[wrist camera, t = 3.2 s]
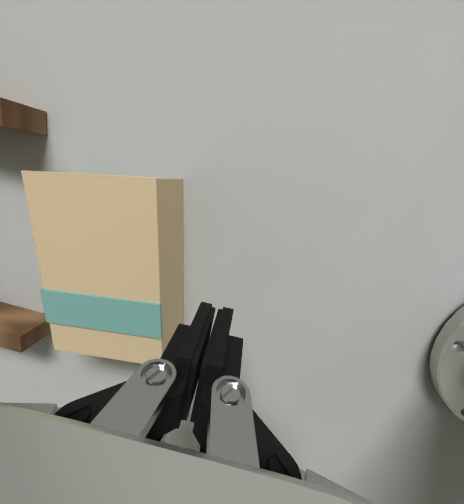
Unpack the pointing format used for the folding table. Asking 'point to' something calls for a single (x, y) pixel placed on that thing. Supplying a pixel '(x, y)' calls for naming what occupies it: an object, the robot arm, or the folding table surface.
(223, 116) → the folding table surface
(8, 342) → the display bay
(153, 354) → the carton
